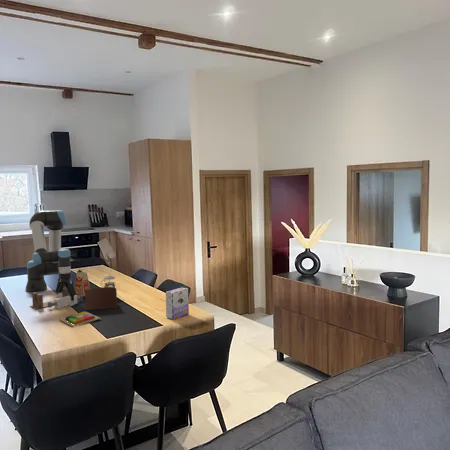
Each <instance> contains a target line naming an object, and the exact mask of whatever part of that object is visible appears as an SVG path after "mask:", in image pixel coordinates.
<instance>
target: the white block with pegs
mask: <svg viewBox="0 0 450 450" xmlns="http://www.w3.org/2000/svg"><path fill="white" fill-rule="evenodd" d="M69 296H70V294H68V296H65V297H61V298H58V297H57V298H54V300H53V301H54V302H53V303H51V302H49V301H47V302H48V307H47V308H53V307H54V308H56V309H60V308H65V307H68V305H69V306H70V299H69ZM78 300H79V301H83V300H84V296H83V295H79V296H76V295H74V305H76V304H78ZM53 305H54V306H53ZM64 306H65V307H64Z"/></svg>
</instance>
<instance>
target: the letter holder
mask: <svg viewBox="0 0 450 450" xmlns="http://www.w3.org/2000/svg"><path fill="white" fill-rule="evenodd" d="M117 291H118V290H117V288H116V287H115V288H112V287H111V286H108V287H104V286H100V287H95V288H90V289H88V290H85V296H84V308H85V309H84V310H85V311H90V310H91V311H92V310H94V311H96V310H106V309H107V310H108V309H116V308H118V299H117V297H118V296H117V295H118V294H117Z"/></svg>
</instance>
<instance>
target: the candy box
mask: <svg viewBox="0 0 450 450" xmlns="http://www.w3.org/2000/svg"><path fill="white" fill-rule="evenodd" d="M189 305H190V303H189V288H187V287H179V288H175V289H172V290H168V291H165V307H166V308H165V309H166V310H165V312H166V313H165V318H166V317H167V318H166V319H168V318H170V319H169V320H171V319H174V320H176V319H175V318H177V319H179V318H178V317H180V318H182V317H184V315H185V316H188V315H189V314H190V312H189V310H190V309H189ZM187 314H188V315H187ZM181 316H182V317H181Z"/></svg>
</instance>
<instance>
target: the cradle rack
mask: <svg viewBox="0 0 450 450" xmlns="http://www.w3.org/2000/svg"><path fill="white" fill-rule="evenodd" d="M65 296H69V292H68V290H67V288H63V290H62V297H65ZM43 297H44V295H43V294H42V293H38V292H31V300H32V305H29V308H31V309H35V310H40V309H45V308H49V307H48V302H51V303H53V302H54V300H49V301H47V302H46V301H45V302H44V298H43ZM52 307H55V306H54V305H53V306H52Z"/></svg>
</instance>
